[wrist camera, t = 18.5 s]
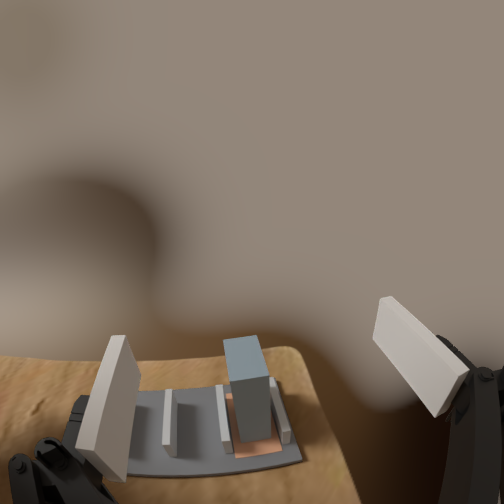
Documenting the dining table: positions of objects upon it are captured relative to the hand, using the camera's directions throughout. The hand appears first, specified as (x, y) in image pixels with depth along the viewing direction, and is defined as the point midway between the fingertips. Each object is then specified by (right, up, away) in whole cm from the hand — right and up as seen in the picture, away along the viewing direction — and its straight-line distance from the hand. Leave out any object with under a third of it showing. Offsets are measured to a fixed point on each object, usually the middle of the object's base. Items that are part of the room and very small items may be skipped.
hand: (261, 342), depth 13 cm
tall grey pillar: (0, -19, +21) cm, 28 cm away
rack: (-8, -21, +20) cm, 30 cm away
